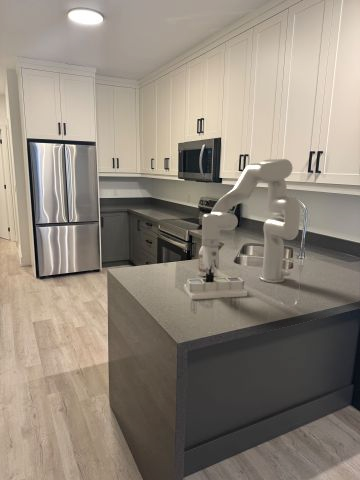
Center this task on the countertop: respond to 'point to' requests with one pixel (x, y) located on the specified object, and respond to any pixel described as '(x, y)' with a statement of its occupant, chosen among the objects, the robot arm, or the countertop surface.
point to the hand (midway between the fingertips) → (209, 282)
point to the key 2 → (220, 280)
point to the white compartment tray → (215, 288)
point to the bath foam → (201, 264)
